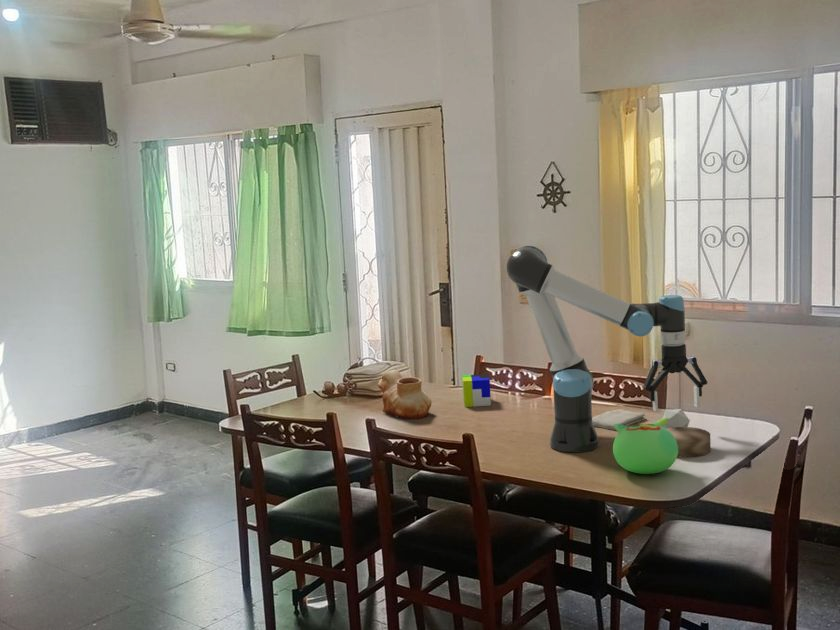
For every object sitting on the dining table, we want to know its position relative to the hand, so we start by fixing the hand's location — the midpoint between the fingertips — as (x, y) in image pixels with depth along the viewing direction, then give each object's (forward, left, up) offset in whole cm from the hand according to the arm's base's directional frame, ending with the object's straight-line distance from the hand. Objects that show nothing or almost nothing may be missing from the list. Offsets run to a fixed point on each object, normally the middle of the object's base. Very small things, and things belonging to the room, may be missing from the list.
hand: (676, 408), depth 293 cm
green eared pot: (-21, -33, -9) cm, 40 cm away
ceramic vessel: (-85, +54, -9) cm, 102 cm away
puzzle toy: (-57, +59, -9) cm, 83 cm away
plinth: (-3, -17, -8) cm, 19 cm away
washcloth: (-14, +18, -9) cm, 25 cm away
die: (0, 0, -9) cm, 9 cm away
